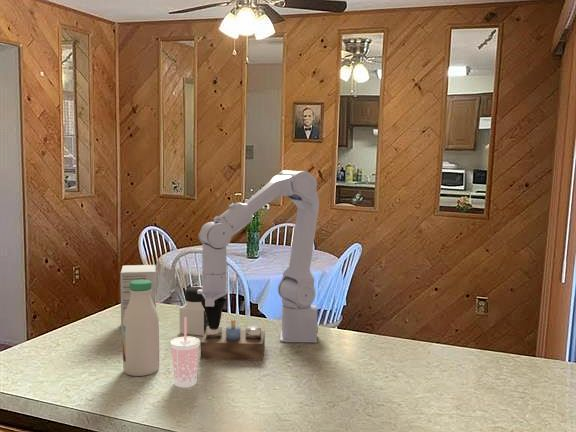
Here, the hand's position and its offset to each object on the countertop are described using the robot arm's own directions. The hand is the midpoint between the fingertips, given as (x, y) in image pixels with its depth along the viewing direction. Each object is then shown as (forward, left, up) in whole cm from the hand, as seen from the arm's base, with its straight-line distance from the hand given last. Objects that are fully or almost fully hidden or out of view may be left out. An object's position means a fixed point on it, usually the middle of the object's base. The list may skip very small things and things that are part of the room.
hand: (214, 327), depth 129 cm
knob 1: (0, 0, -6) cm, 6 cm away
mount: (-5, 0, -6) cm, 8 cm away
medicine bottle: (+7, -16, -6) cm, 19 cm away
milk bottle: (+14, +12, -6) cm, 20 cm away
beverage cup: (+3, +18, -6) cm, 19 cm away
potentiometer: (-5, +1, -2) cm, 5 cm away
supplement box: (+23, -17, -6) cm, 29 cm away
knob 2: (-10, 0, -6) cm, 11 cm away
